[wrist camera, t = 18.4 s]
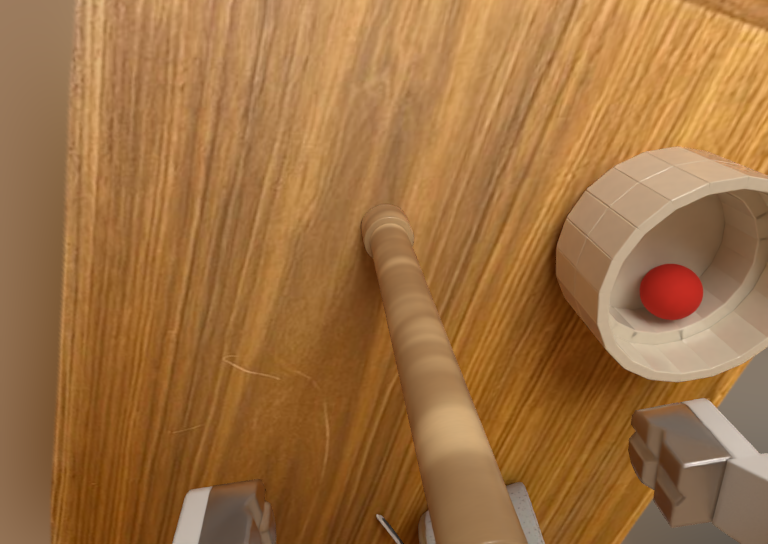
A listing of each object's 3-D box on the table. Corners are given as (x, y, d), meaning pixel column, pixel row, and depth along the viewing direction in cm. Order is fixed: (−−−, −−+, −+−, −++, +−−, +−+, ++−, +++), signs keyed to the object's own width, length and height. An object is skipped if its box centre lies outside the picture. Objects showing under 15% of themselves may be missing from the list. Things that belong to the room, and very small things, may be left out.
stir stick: (379, 194, 28) (482, 517, 11) (417, 219, 29) (573, 555, 12) (351, 233, 29) (406, 592, 11) (390, 256, 30) (496, 622, 12)
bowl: (552, 162, 29) (604, 200, 23) (755, 129, 29) (853, 158, 23) (550, 335, 34) (592, 398, 28) (723, 305, 34) (796, 362, 29)
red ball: (682, 288, 28) (693, 335, 29) (707, 254, 29) (717, 301, 30) (623, 282, 30) (636, 326, 32) (649, 251, 32) (660, 294, 33)
